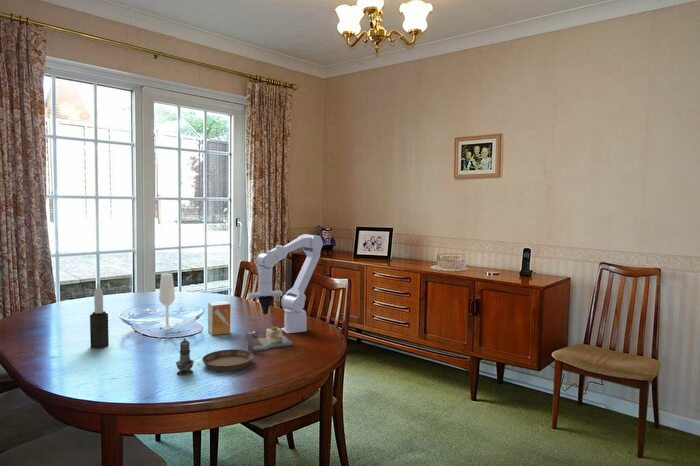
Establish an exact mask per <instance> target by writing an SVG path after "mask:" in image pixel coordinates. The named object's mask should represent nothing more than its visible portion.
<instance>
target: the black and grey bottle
mask: <svg viewBox="0 0 700 466" xmlns="http://www.w3.org/2000/svg"><path fill="white" fill-rule="evenodd" d="M93 293H94V294H93V296H94V297H93V298H94V301H93V302H94V311H93V312H92V313H91V314H90V315H89V331H90V335H89V338H90V340H89V342H90V348H91V349H97V350H99V349H103V348H106V347H109V343H110V342H109V341H110V340H109V313H107V312H106V311H105V310H104V292H103V290H102V289H101V285H100V282H97V283H96V289H95V290H94V292H93Z"/></svg>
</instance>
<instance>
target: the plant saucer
mask: <svg viewBox="0 0 700 466" xmlns="http://www.w3.org/2000/svg"><path fill="white" fill-rule="evenodd" d="M253 358H254V353H253V352H249V351H246V349H245V350H244V349H235V348H233V349H221V350H217V351H212V352H209V353H207V354H205V355H204V356H202V358H201V361H202V362H203V363H202V364H204V365H205V367H207V368H208V369H209V370H211V371H215V372H232V371H233V372H235V371H238V370H241V369H243V368H246V367H247V366H248V365H250V363H251V362H252V360H253Z"/></svg>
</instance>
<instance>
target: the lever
mask: <svg viewBox="0 0 700 466" xmlns="http://www.w3.org/2000/svg"><path fill="white" fill-rule="evenodd" d="M251 332H252V333H253V340H254V339H255V340H256V339H259V338H258V337H259V333H258V331H257V330H254V331H251Z"/></svg>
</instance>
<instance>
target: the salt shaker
mask: <svg viewBox="0 0 700 466" xmlns="http://www.w3.org/2000/svg"><path fill="white" fill-rule="evenodd" d="M178 352H179V357H180V358H179V360H177V361H176V362H175V365H176V367H177V370H178V371H176V375H178V376H181V377H185V376H190V375H192V374H193V373H194V370H193V369H192V368H193V366H194V363H195V360H193V359H191V356H190V354H191V353H190V352H192V351H191V350H190V341H189V340H187V339H186V337H184V339H183V340H182V341H180V350H179V351H178Z"/></svg>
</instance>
